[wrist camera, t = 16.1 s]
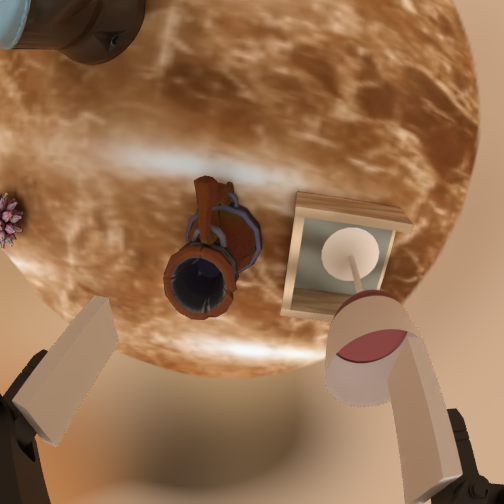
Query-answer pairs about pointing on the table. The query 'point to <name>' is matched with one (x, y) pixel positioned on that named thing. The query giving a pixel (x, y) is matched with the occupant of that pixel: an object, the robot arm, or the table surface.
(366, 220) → the square tray
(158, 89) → the table surface
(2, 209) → the flower
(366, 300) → the wineglass
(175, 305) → the brown pitcher
